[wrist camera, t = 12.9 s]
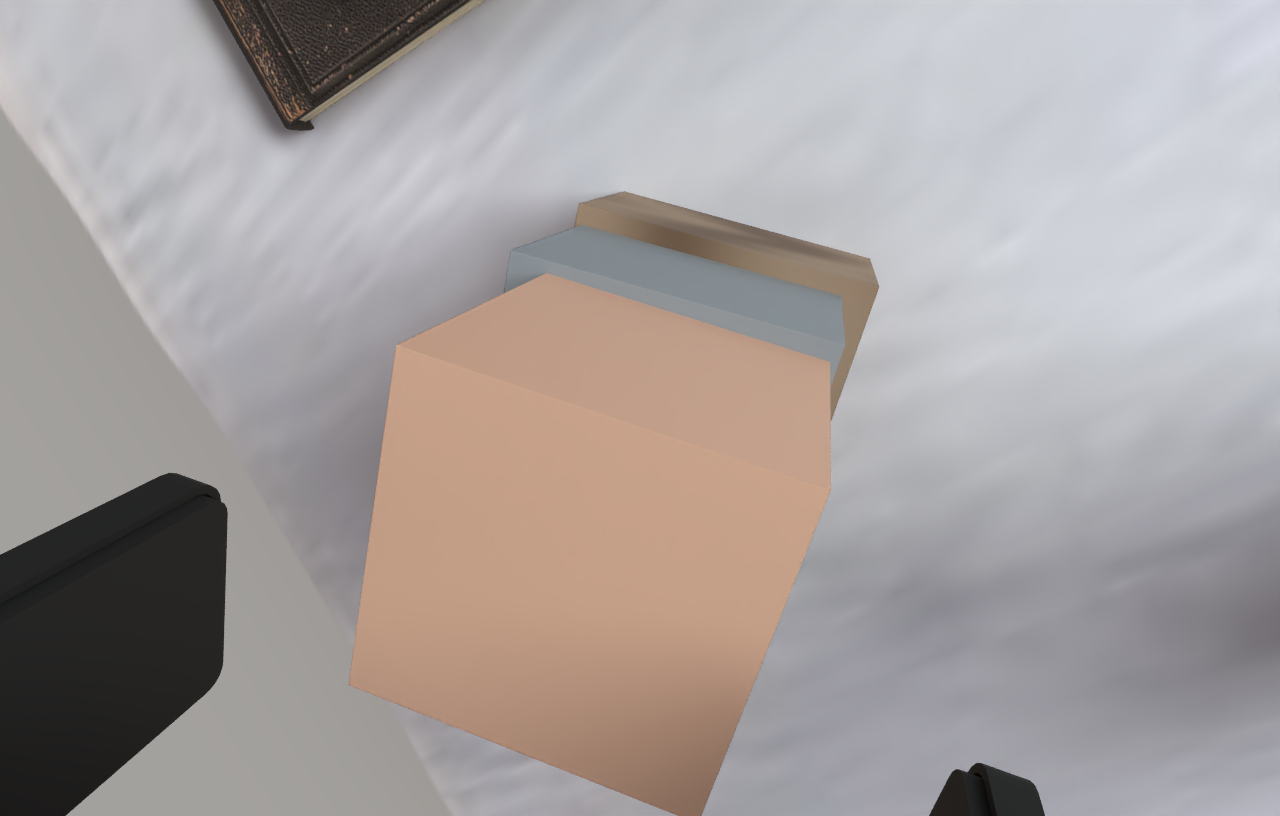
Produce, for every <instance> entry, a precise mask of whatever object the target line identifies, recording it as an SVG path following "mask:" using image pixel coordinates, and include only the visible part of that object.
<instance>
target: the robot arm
mask: <svg viewBox="0 0 1280 816" xmlns="http://www.w3.org/2000/svg"><path fill="white" fill-rule="evenodd" d="M227 515H228V514H227V508H226V506H225V504H224V503H222V502H221V498H220V494H219V492H218V490H217V489H216V488H214V487H212V486H210V485H207V484H204V483H202V482H199V481H196V480H193V479H191V478H188V477H185V476H182V475H180V474H177V473H168V474H165V475H162V476H159V477H157V478H155V479H153V480H151V481H149V482H147V483H145V484H143V485H141V486H139V487H137V488H135V489H133V490H131V491H129V492H127V493H125V494H123V495H121V496H119V497H117V498H115V499H113V500H111V501H108V502H106V503H105V504H102V505H100V506H98V507H97V508H95V509H92V510H90V511H88V512H86V513H84V514H82V515H80V516H78V517H76V518H74V519H72V520H70V521H68V522H66V523H64V524H62V525H60V526H58V527H56V528H54V529H52V530H50V531H48V532H46V533H44V534H42V535H40V536H37V537H35V538H33V539H32V540H29V541H27V542H25V543H23V544H21V545H19V546H17V547H15V548H13V549H11V550H9V551H7V552H5V553H3V554H1V555H0V816H66V815H67V814H68V813H69V812H70V811H71V810H73V809H74V808H75V807H76V806H77V805H78V804H79V803H81V802H82V801H83V800H84V799H85V798H86V797H87V796H89V795H90V794H91V793H92V792H93V791H94V790H95V789H97V788H98V787H99V786H100V785H101V784H102V783H104V782H105V781H106V780H107V779H108V778H109V777H111V776H112V775H113V774H114V773H115V772H116V771H117V770H118V769H120V768H121V767H122V766H123V765H124V764H125V763H127V761H129V760H130V759H131V758H132V757H134V756H135V755H136V754H137V753H138V752H139V751H140V750H142V749H143V748H144V747H145V746H146V745H147V744H149V743H150V742H151V741H152V740H153V739H154V738H155V737H156V736H158V735H159V734H160V733H161V732H162V731H163V730H165V729H166V728H167V727H168V726H169V725H170V724H172V723H173V722H174V721H175V720H176V719H177V718H178V717H180V716H181V715H182V714H183V713H184V712H185V711H187V710H188V709H189V708H190V707H191V706H192V705H193V704H194V703H195V702H197V701H198V700H199V699H200V698H201V697H203V696H204V695H205V694H206V693H207V692H208V691H209V690H210V689H211V687H212V686H213V685H214V684H215V682H216V681H217V679H218V677H219V675H220V673H221V669H222V666H223V650H224V615H225V582H226V581H225V580H226V579H225V578H226V548H227ZM929 816H1045V814H1044V811H1043V807H1042V804H1041V800H1040V797H1039V794H1038V791H1037V789H1036V787H1035V785H1034V784H1033V783H1032V782H1031V781H1029V780H1027V779H1024V778H1021V777H1018V776H1015V775H1013V774H1010V773H1007V772H1004V771H1002V770H999V769H996V768H993V767H990V766H988V765H985V764H982V763H976V764H975V765H973V766H972V767H971V768H970V770H969V771H968V773H967V772H964V771H962V770H958V769H956V770H954V771H953V772H952V773H951V775H950V777H949V778H948V780H947V782H946V784H945V786H944V788H943V790H942V792H941V794H940V796H939V798H938V800H937V801H936V803H935V805H934V807H933V809H932V811H931V813H930V815H929Z"/></svg>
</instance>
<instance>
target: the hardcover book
mask: <svg viewBox="0 0 1280 816" xmlns="http://www.w3.org/2000/svg"><path fill="white" fill-rule="evenodd" d="M213 1H214V3H215V5H216V6H217V8H218V10H219V12H220V13H221V15H222V17H223V19H224V20H225V22H226V24H227V26H228V28H229V29H230V31H231V33H232V35H233V36H234V38H235V40H236V42H237V43H238V45H239V47H240V49H241V50H242V52H243V54H244V56H245V57H246V59H247V61H248V63H249V64H250V66H251V68H252V70H253V71H254V73H255V75H256V77H257V78H258V80H259V82H260V84H261V85H262V87H263V89H264V91H265V92H266V94H267V96H268V98H269V100H270V101H271V103H272V105H273V107H274V108H275V110H276V112H277V114H278V115H279V117H280V119H281V121H282V122H283V124H284V126H285V127H286V128H287V129H290V130H312V129H314V127H313V125H312V123H311V122H310V120H311V119H312V118H314V117H315V116H317V115H318V114H320V113H321V112H323V111H324V110H326V109H327V108H329V107H330V106H331V105H333V104H334V103H336V102H337V101H339V100H340V99H342V98H343V97H345V96H346V95H348V94H349V93H350V92H352V91H353V90H355V89H356V88H358V87H359V86H361V85H362V84H364V83H365V82H367V81H368V80H369V79H371V78H372V77H374V76H375V75H377V74H378V73H380V72H381V71H383V70H384V69H386V68H387V67H388V66H390V65H391V64H393V63H394V62H396V61H397V60H399V59H400V58H402V57H403V56H405V55H406V54H407V53H409V52H410V51H412V50H413V49H415V48H416V47H418V46H419V45H421V44H422V43H424V42H425V41H426V40H428V39H429V38H431V37H432V36H434V35H435V34H437V33H438V32H440V31H441V30H442V29H444V28H445V27H447V26H448V25H450V24H451V23H453V22H454V21H456V20H457V19H458V18H460V17H461V16H463V15H464V14H466V13H467V12H469V11H470V10H472V9H473V8H474V7H476V6H477V5H479V4H480V3H482V2H483V1H485V0H213Z"/></svg>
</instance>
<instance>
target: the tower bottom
mask: <svg viewBox="0 0 1280 816" xmlns="http://www.w3.org/2000/svg"><path fill="white" fill-rule="evenodd" d="M580 225H585V226H588V227H592V228H596V229H599V230H603V231H606V232H610V233H614V234H617V235H621V236H625V237H628V238H632V239H636V240H639V241H643V242H647V243H650V244H654V245H658V246H661V247H665V248H669V249H672V250H676V251H679V252H683V253H687V254H690V255H694V256H698V257H701V258H705V259H709V260H712V261H716V262H720V263H723V264H727V265H731V266H734V267H738V268H742V269H745V270H749V271H752V272H756V273H760V274H763V275H767V276H771V277H774V278H778V279H782V280H785V281H789V282H793V283H796V284H800V285H804V286H807V287H811V288H814V289H818V290H822V291H825V292H829V293H833V294H836V295H840V296H841V297H842V309H843V322H844V334H845V347H844V350H843V353H842V356H841V359H840V361H839V364H838V367H837V370H836V373H835V376H834V379H833V382H832V385H831V388H830V417H831V420H832V417H833V414H834V411H835V408H836V406H837V403H838V400H839V397H840V395H841V392H842V389H843V386H844V383H845V381H846V378H847V375H848V372H849V370H850V367H851V364H852V361H853V358H854V356H855V353H856V350H857V347H858V344H859V342H860V339H861V336H862V333H863V331H864V328H865V325H866V322H867V319H868V317H869V314H870V311H871V308H872V305H873V303H874V300H875V297H876V294H877V292H878V289H879V285H878V282H877V279H876V276H875V273H874V270H873V267H872V264H871V261H870V259H869V258H866V257H862V256H858V255H855V254H851V253H847V252H844V251H840V250H836V249H833V248H829V247H825V246H822V245H818V244H814V243H811V242H807V241H803V240H800V239H796V238H792V237H789V236H785V235H781V234H778V233H774V232H770V231H767V230H763V229H760V228H756V227H752V226H749V225H745V224H741V223H738V222H734V221H730V220H727V219H723V218H719V217H716V216H712V215H708V214H705V213H701V212H697V211H694V210H690V209H686V208H683V207H679V206H675V205H672V204H668V203H664V202H661V201H657V200H653V199H650V198H646V197H642V196H639V195H635V194H632V193H628V192H620V193H617V194H613V195H609V196H605V197H602V198H598V199H594V200H590V201H586V202H583V203H579V207H578V212H577V217H576V222H575V227H577V226H580ZM575 227H574V228H575Z"/></svg>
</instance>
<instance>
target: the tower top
mask: <svg viewBox="0 0 1280 816" xmlns="http://www.w3.org/2000/svg"><path fill="white" fill-rule="evenodd" d="M546 273H548V274H551V275H554V276H558V277H561V278H564V279H567V280H570V281H574V282H577V283H580V284H583V285H586V286H590V287H593V288H596V289H599V290H602V291H606V292H609V293H612V294H615V295H618V296H621V297H625V298H628V299H631V300H634V301H637V302H641V303H644V304H647V305H650V306H653V307H657V308H660V309H663V310H666V311H669V312H673V313H676V314H679V315H682V316H685V317H688V318H692V319H695V320H698V321H701V322H704V323H708V324H711V325H714V326H717V327H720V328H724V329H727V330H730V331H733V332H736V333H740V334H743V335H746V336H749V337H752V338H755V339H759V340H762V341H765V342H768V343H771V344H775V345H778V346H781V347H784V348H787V349H791V350H794V351H797V352H800V353H803V354H806V355H810V356H813V357H816V358H819V359H822V360H826V361H829V362H830V388H831V385H832V382H833V379H834V376H835V373H836V370H837V367H838V364H839V361H840V359H841V356H842V353H843V350H844V347H845V334H844V322H843V309H842V297H841V296H840V295H836V294H833V293H829V292H825V291H822V290H818V289H814V288H811V287H807V286H804V285H800V284H796V283H793V282H789V281H785V280H782V279H778V278H774V277H771V276H767V275H763V274H760V273H756V272H752V271H749V270H745V269H742V268H738V267H734V266H731V265H727V264H723V263H720V262H716V261H712V260H709V259H705V258H701V257H698V256H694V255H690V254H687V253H683V252H679V251H676V250H672V249H669V248H665V247H661V246H658V245H654V244H650V243H647V242H643V241H639V240H636V239H632V238H628V237H625V236H621V235H617V234H614V233H610V232H606V231H603V230H599V229H596V228H592V227H588V226H585V225H580V226H577V227H575V228H572V229H569V230H566V231H563V232H561V233H558V234H555V235H552V236H549V237H546V238H544V239H541V240H538V241H535V242H532V243H530V244H527V245H524V246H521V247H518V248H516V249H513V250H511V252H510V258H509V264H508V270H507V276H506V283H505V289H504V293H506V292H508V291H510V290H512V289H514V288H516V287H518V286H521V285H523V284H525V283H527V282H529V281H531V280H533V279H535V278H537V277H539V276H541V275H543V274H546Z"/></svg>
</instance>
